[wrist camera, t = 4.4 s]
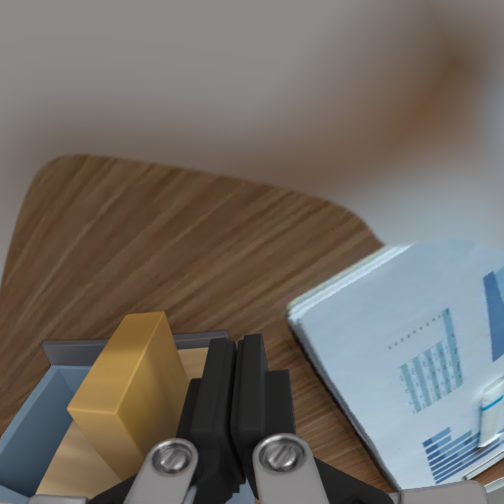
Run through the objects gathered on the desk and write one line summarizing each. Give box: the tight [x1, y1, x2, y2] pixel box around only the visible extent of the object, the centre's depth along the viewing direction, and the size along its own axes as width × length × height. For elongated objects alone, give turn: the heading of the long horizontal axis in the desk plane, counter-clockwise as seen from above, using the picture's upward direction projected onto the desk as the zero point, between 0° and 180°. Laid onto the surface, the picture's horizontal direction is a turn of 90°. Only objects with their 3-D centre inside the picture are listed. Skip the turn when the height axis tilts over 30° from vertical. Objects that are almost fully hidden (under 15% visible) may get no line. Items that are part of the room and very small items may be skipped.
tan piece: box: [35, 311, 209, 499], centre depth 10 cm, size 5×6×10 cm
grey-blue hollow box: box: [0, 330, 255, 504], centre depth 13 cm, size 10×12×11 cm
